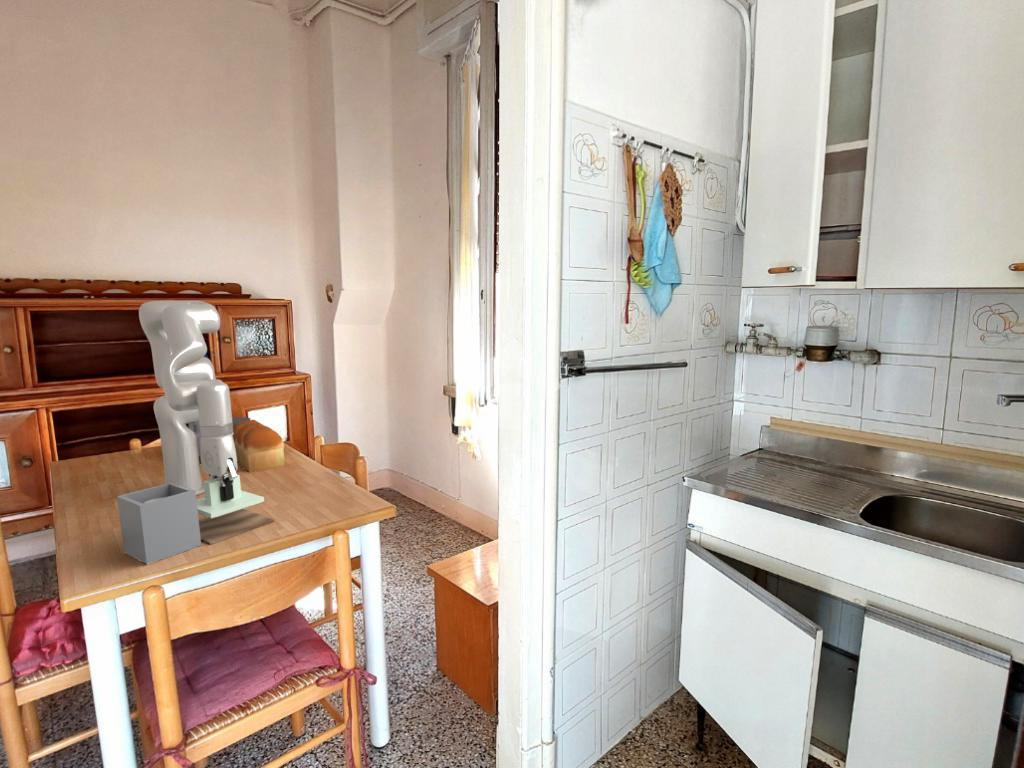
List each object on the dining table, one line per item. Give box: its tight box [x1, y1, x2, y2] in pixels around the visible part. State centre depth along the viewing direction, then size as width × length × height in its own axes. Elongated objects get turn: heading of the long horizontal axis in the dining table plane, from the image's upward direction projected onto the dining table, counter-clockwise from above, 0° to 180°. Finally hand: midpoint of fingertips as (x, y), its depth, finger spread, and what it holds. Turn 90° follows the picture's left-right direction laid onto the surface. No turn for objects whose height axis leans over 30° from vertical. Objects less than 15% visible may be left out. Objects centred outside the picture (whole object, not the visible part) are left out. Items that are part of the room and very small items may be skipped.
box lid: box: [196, 474, 265, 518], centre depth 145 cm, size 14×14×8 cm
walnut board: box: [199, 508, 275, 545], centre depth 146 cm, size 17×17×1 cm
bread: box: [232, 419, 286, 474], centre depth 206 cm, size 25×12×15 cm, turn 40°
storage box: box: [116, 482, 202, 565], centre depth 132 cm, size 12×12×14 cm
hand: (223, 498), depth 145 cm, fingers closed on box lid, 3 cm apart
